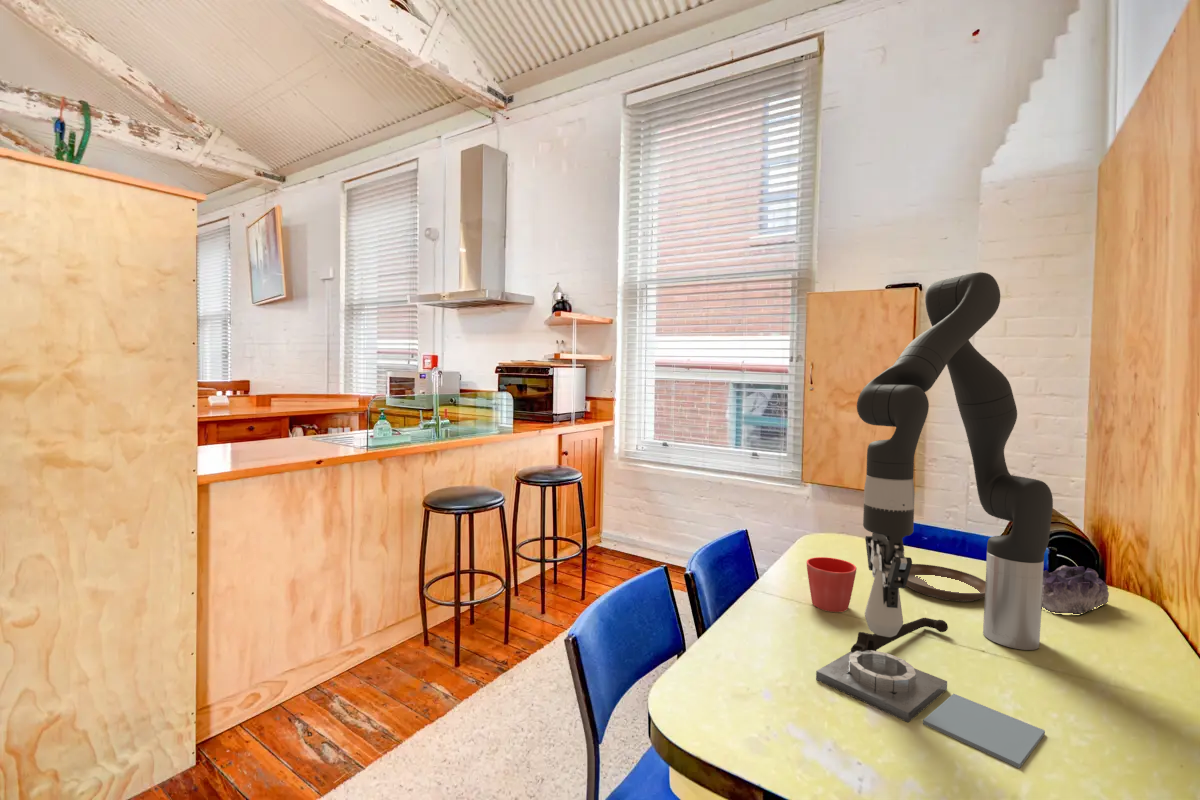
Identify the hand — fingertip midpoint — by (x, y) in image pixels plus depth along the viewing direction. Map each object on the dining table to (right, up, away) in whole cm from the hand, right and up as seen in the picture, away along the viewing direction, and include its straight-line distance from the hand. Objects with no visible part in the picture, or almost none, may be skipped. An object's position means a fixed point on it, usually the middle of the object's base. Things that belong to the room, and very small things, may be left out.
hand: (885, 604), depth 94 cm
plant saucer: (+38, -14, +47) cm, 62 cm away
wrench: (+10, -13, +13) cm, 21 cm away
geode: (+63, -15, +38) cm, 75 cm away
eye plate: (-1, -14, 0) cm, 14 cm away
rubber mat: (+9, -15, -11) cm, 20 cm away
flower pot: (+5, -13, +34) cm, 37 cm away
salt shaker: (0, -5, 0) cm, 5 cm away
